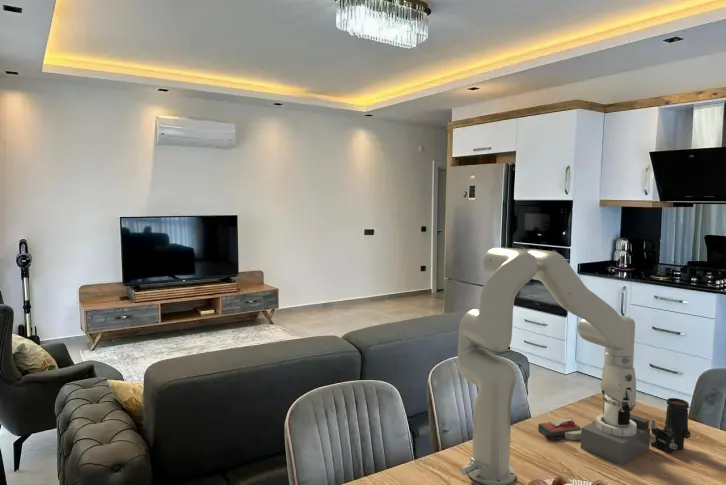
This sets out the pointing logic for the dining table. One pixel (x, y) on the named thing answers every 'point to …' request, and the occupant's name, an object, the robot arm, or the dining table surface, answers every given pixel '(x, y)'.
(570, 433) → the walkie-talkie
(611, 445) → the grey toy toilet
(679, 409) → the scope
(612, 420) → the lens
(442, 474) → the dining table surface
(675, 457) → the dining table surface
